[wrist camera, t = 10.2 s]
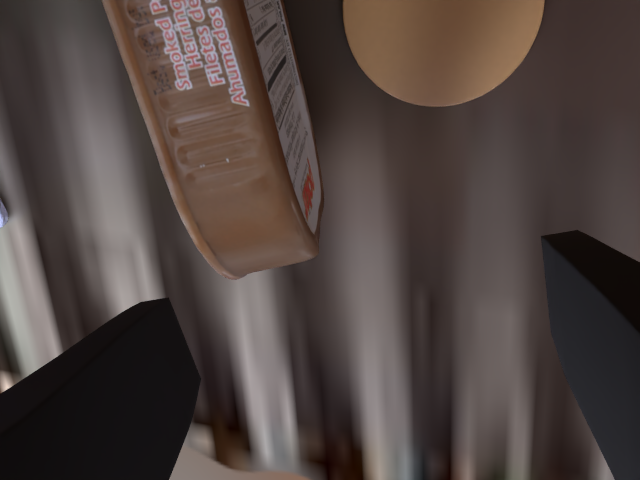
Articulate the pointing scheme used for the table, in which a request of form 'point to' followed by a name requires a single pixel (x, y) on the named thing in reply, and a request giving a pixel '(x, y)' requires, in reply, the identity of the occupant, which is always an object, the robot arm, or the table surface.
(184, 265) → the table surface
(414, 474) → the table surface
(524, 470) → the table surface
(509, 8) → the cork coaster
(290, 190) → the tin
